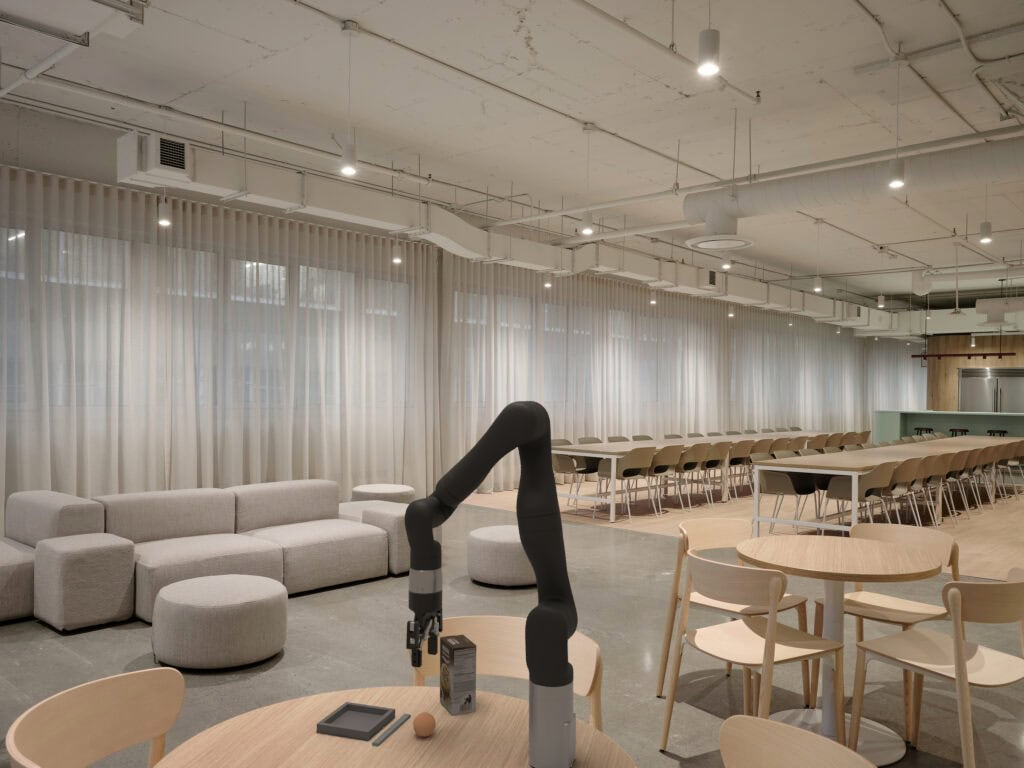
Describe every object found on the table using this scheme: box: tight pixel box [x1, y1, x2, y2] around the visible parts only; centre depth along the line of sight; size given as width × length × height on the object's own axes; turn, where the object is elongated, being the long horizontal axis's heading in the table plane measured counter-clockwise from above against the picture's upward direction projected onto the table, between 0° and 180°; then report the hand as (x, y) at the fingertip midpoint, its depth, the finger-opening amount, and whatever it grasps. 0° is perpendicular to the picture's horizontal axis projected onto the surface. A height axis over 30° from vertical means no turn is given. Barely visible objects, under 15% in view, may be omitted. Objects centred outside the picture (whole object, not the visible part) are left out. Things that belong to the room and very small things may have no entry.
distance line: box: [371, 713, 411, 747], centre depth 174 cm, size 2×16×1 cm, turn 162°
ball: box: [412, 711, 437, 738], centre depth 172 cm, size 5×5×5 cm
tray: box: [316, 701, 396, 742], centre depth 177 cm, size 13×13×2 cm
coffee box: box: [439, 634, 477, 716], centre depth 188 cm, size 9×6×16 cm
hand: (424, 660), depth 172 cm, fingers open, 8 cm apart
